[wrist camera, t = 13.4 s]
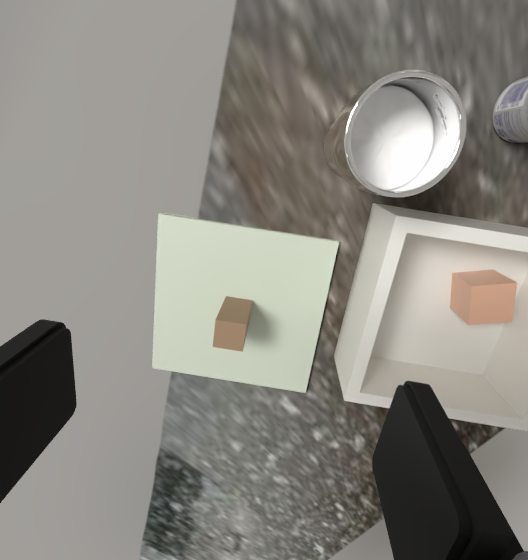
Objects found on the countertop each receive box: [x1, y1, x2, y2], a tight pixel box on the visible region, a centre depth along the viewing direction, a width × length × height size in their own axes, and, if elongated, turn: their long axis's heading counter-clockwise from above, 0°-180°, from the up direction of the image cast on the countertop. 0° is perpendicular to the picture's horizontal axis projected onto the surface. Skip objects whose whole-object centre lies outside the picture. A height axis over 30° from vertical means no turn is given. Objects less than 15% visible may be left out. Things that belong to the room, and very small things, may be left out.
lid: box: [152, 212, 339, 393], centre depth 37 cm, size 19×19×7 cm
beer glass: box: [323, 69, 466, 197], centre depth 26 cm, size 7×7×15 cm
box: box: [334, 203, 528, 431], centre depth 34 cm, size 18×18×8 cm
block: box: [450, 269, 517, 325], centre depth 35 cm, size 4×4×4 cm
